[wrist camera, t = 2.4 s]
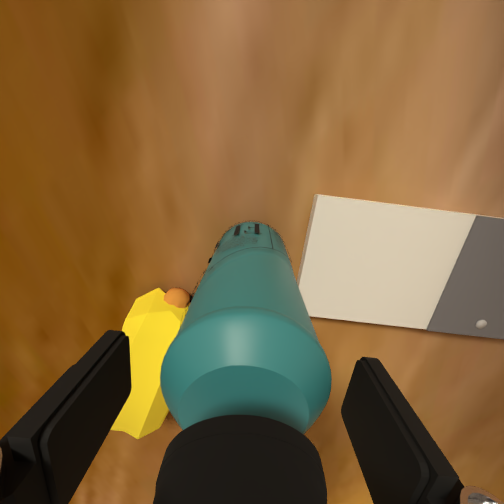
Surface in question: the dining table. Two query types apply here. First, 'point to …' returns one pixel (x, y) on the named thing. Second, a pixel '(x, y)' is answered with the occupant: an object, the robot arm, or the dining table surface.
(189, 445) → the beverage bottle
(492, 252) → the floor panel
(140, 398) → the yellow faceted oblong part
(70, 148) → the dining table surface
